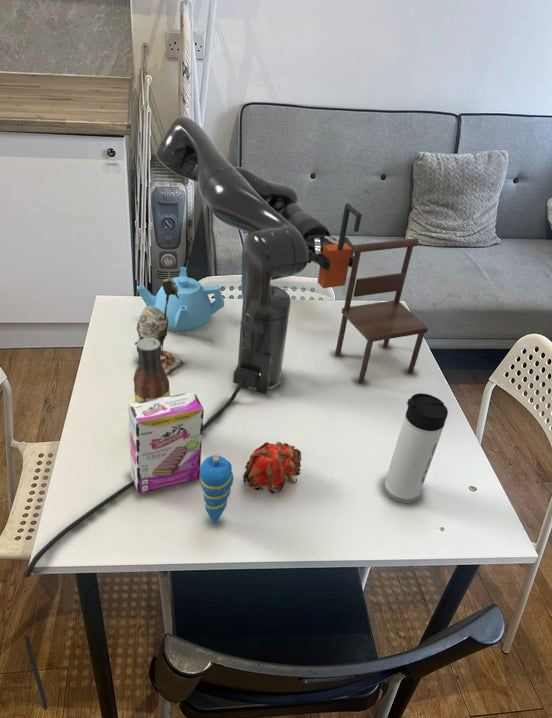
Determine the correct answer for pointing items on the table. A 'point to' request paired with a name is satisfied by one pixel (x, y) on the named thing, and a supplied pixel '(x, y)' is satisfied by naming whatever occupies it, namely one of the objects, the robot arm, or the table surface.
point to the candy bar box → (165, 441)
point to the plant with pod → (159, 326)
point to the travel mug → (415, 447)
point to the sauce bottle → (150, 372)
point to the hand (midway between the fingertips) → (340, 264)
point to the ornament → (216, 485)
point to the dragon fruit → (272, 466)
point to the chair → (380, 306)
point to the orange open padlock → (338, 254)
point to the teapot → (185, 303)
